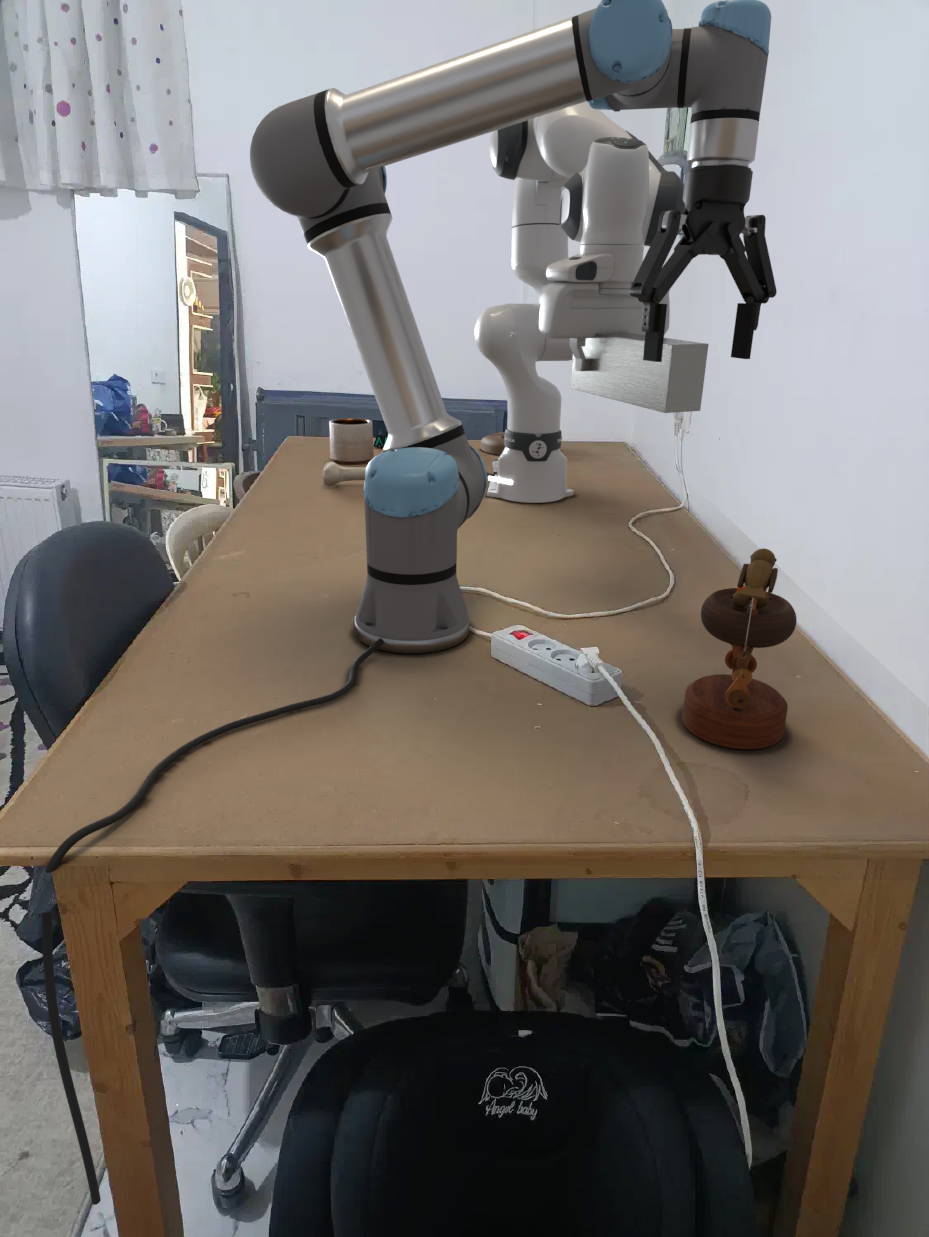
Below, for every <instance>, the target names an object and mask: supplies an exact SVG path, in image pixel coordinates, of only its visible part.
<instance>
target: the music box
mask: <svg viewBox="0 0 929 1237" xmlns="http://www.w3.org/2000/svg"><path fill="white" fill-rule="evenodd" d="M749 557H750V563H743V565H742V568H741V571H740V574H739V577H738V580H737V585H736V586H737V587H732V588H729V587H728V588H722V589H718V590H716V591H714V592H712V593H711V594H709V595H708V597H706V598H705V600H704V601H703V603H702V605H701V608H700V620H701V623H702V625H703V627H704V628H705V630H706V631H707V632H708V633H709V634H710V636H712V637H714V638H715V639H716V640H719V641H721V642H723V643H726V644H729V645H730V646H732V649H730V650H729V651H727V652H726V654H725V656H724V663H725V665H726V667H727V668H728V669H730V670H732V671H731V674H727V673H725V674H724V673H722V674H721V673H720V674H710V675H705V676H702V677H700V678H697V679H696V680H694V681H692V682H691V683H690V684H688V685H687V686H686V688H685V691H684V698H683V707H682V714H681V721H682V724H683V726H685V728H686V729H687V730H688V731H689V732H690V733H691V734H693V735H694V736H696V737H698V738H699V739H701V740H704V742H705V741H706V742H708V743H710V744H714V745H717V746H721V747H725V748H730V749H738V750H759V749H764V748H769V747H771V746H774V745H775V744H777V743H778V742H780V741H781V740H782V738H783V737H784V731H785V726H786V721H787V716H788V709H789V706H788V702H787V701H786V698H784V696H783V695H782V694H781V693H780V692H779V691H778V690H777V689H775V687H772V686H771V685H769V684H768V683H765V682H764V681H761V680H758V679H755V678H753V673H754V672H755V671H756V669H757V668H758V661H757V659H756V657H755V656H754V655H753V654H752V653H753V650H754V649H763V648H764V649H765V648H771V647H775V646H778V645H780V644H783V643H784V642H786V641H787V640H788V639H790V638H791V636H792V635H793V634H794V632H795V630H796V627H797V613H796V611H795V608H794V607H793V606H792V604H791V603H790V602H789V601H788V600H787V599H785V598H784V597H782V596H780V595H777V594H776V593H773V592H774V589H775V586H776V582H777V578H778V574H779V573H778V572H779V569H778V567H774V566H775V564H776V562H777V560H778V559H777V558H776V556H775V554H774V552H773V551H772V550H771V549H769V548H759V549H756V550H754V552H753V553H752V554H751V555H750V556H749Z"/></svg>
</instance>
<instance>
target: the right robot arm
mask: <svg viewBox="0 0 929 1237" xmlns="http://www.w3.org/2000/svg"><path fill="white" fill-rule="evenodd" d="M488 145H489V146H488V150H489V158H490V161H491V163H492V168H493V170H494V172H495V173H496V175H497V176H499V177H500V178H503V179H507V180H511V181H515V180H516V185H515V189H514V195H513V204H512V212H511V214H512V215H511V254H510V255H511V256H510V257H511V258H510V259H511V262H510V263H511V264H510V266H511V269H512V273H514V275H515V276H516V277H517V278H518V279H519V280H520V281H521V282H523V283H524V284H527V285H528V286H530V287H532V288H533V289H534V290H535V292H536V294H537V298H538V303H503V304H498V305H493V306H490V307H486V308H485V309H483V310H482V312H481V313H480V314H479V316H478V317H477V319H476V322H475V326H474V341H475V343H476V346H477V348H478V350H479V352H480V353H481V354H482V356H483V357H485V358H486V359H487V360H488V361H489V362H491V364H492V365H493V366H494V367H495V368H496V369H497V371H498V373H499V375H500V376H501V379H502V380H503V384H504V387H505V391H506V404H507V421H506V422H507V423H506V424H507V426H506V428H505V431H504V432H505V435H504V445H505V448H504V450H503V452H502V454H501V455H499V457H498V458H497V459H495V458H494V459H491V472H492V474H491V473H488V472H487V481H489V484H488V489H487V491H486V496H487V497H490V498H498V499H503V500H506V501H510V502H516V503H517V502H518V503H526V504H527V503H529V504H537V503H538V504H540V503H553V502H556V501H560V500H562V499H564V498H567V497H572V496H574V490H573V489H571V488H570V487H568V486H567V484H568V458H567V456H566V455H565V454H564V453H563V452H562V451H561V448H562V441H563V436H562V430H561V415H562V400H563V398H562V394H561V391H560V389H559V388H558V387H557V385H555V384H554V383H553V382H551V381H549V380H547V379H546V378H544V377H542V376H540V375H539V374H538V372H537V365H536V364H537V362H569V361H573V355H574V357H575V358H576V359H575V370H576V371H589V369H590V366H589V365H590V359H589V358H586V357H585V355H584V352H583V349H582V346H585V341H586V338H594V337H595V334H596V333H634V334H641V335H645V331H642V328H641V325H642V314H643V302H639V300H638V298H636V297H633V296H631V295H630V293H629V290H630V288H631V285H632V283H633V281H634V279H635V277H636V275H637V273H638V271H639V269H640V266H641V264H642V262H643V260H644V250H645V247H650V245H651V243H652V241H653V239H654V237H655V235H656V233H657V228H658V222H659V217H660V214H661V213H662V212H663V211H674V210H678V211H680V213H681V214H683V212H684V209H685V203H684V202H683V190H684V182H683V180H682V179H681V177H680V176H679V175H678V174H677V173H676V172H675V170H674V171H672V170H671V171H670V170H666V169H665V168H664V166H663V165H662V164H661V163H660V162H659V161H658V160H657V158H655V156H654V155H653V154H652V153H651V151H650V150H649V147H648V145H647V144H646V143H645V142H643V140H640V139H639V138H637V137H636V136H635V135H634V134H632V133H631V132H629V131H628V130H626V129H624V128H623V127H622V126H620V125H619V124H617V123H616V122H614V121H613V120H612V119H610V117H608V116H607V115H606V113H604V112H603V110H600V109H593V108H591V107H590V106H589V104H588V102H587V101H586V102H583V103H580V104H577V105H574V106H571V107H568V108H565V109H561V110H558V111H555V112H552V113H549V114H546V115H543V116H540V117H536V118H533V119H530V120H527V121H524V122H521V123H518V124H515V125H511V126H508V127H505V128H502V129H499V130H496V131H493V132H491V133H490V138H489V144H488ZM681 232H683V231H682V229H681V230H680V231H679V232H678V234H677V236H679V234H680V233H681ZM569 239H570V240H571V241H575V242H578V243H579V253H577V254H573V255H572V256H569ZM659 304H667V311H666V321H665V331H664V336H665V335H666V334H667V333H668V331H669V329H670V319H671V318H670V317H671V314H670V312H671V311H670V310H671V306H670V290H669V291H668V292H667V294H666V295H665V296H664V298H663V299H662V300H661V302H660V303H659Z"/></svg>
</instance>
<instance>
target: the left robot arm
mask: <svg viewBox="0 0 929 1237" xmlns="http://www.w3.org/2000/svg"><path fill="white" fill-rule="evenodd" d="M771 26H772V12H771V10H770V7H769V6H768V5H767V4H766V3H765V2H763V1H761V0H717V1H714V2H712V3H709V4H708V5H707V6H705V7H704V9H703V10H702V12H701V16H700V20H699V22H698V26H691V27H686V28H685V27H684V28H673V24H672V19H671V18H670V17H669V13H668V10H667V8H666V6H665V3H664V2H663V1H662V0H601V1H600V3H599V4H598V5H597V6H596V8H593V9H590V10H587V11H584V12H582V13H579V14H577V15H574V16H571V17H568V18H565V19H562V20H560V21H556V22H554V23H551V24H548V25H545V26H542V27H539V28H537V29H533V30H530V31H527V32H525V33H522V34H519V35H516V36H513V37H510V38H507V39H505V40H501V41H498V42H495V43H492V44H490V45H487V46H484V47H482V48H479V49H475V50H473V51H470V52H467V53H464V54H461V55H458V56H454V57H452V58H449V59H446V60H444V61H440V62H437V63H434V64H431V65H429V66H426V67H423V68H420V69H417V70H414V71H412V72H408V73H405V74H402V75H399V76H397V77H395V78H391V79H388V80H386V81H383V82H379V83H376V84H375V85H371V86H368V87H365V88H362V89H359V90H357V91H353V92H351V93H348V94H345V93H344V92H342V91H340V90H339V89H337V88H335V87H331V88H328V89H324V90H322V91H319V92H317V93H314V94H310V95H308V96H305V97H301V98H299V99H296V100H293V101H290V102H286V103H284V104H282V105H279V106H277V107H275V108H274V109H272V110H271V111H269V112H268V113H267V114H266V115H265V116H264V117H263V118H262V119H261V120H260V122H259V124H258V125H257V127H256V128H255V131H254V133H253V135H252V138H251V143H250V147H249V164H250V170H251V174H252V177H253V179H254V182H255V184H256V186H257V188H258V190H259V191H260V193H261V194H262V196H263V197H264V198H265V199H266V200H267V201H268V202H269V203H270V205H272V206H273V207H274V208H276V209H277V210H278V211H281V212H282V213H284V214H287V215H289V216H293V217H296V218H297V221H298V224H299V226H300V229H301V232H302V234H303V238H304V240H305V242H306V245H307V248H308V250H310V251H312V252H314V253H316V254H318V255H320V256H321V257H322V258H323V259H324V260H325V263H326V266H327V269H328V271H329V274H330V277H331V279H332V282H333V286H334V288H335V291H336V293H337V297H338V299H339V301H340V305H341V307H342V310H343V313H344V315H345V318H346V321H347V323H348V326H349V329H350V331H351V335H352V337H353V339H354V343H355V346H356V348H357V351H358V354H359V356H360V359H361V362H362V364H363V367H364V370H365V372H366V376H367V378H368V381H369V384H370V387H371V389H372V392H373V395H374V398H375V401H376V403H377V407H378V408H379V411H380V414H381V417H382V419H383V422H384V426H385V428H386V432H387V431H388V438H387V441H386V443H385V445H384V447H382V453H379V454H377V455H376V456H374V457H373V459H372V460H370V461H368V463H367V465H366V467H365V468H366V471H365V480H364V482H363V489H362V493H363V497H364V520H365V550H366V579H365V584H364V586H363V589H362V592H361V596H360V600H359V602H358V606H357V609H356V612H355V615H354V633H355V636H356V638H357V639H358V640H359V641H360V642H362V643H363V644H365V645H367V646H368V648H367V649H366V650H365V651H363V652H362V653H361V654H360V655H359V656H357V658H356V659H355V660H354V661H353V662H352V664H351V666H350V669H349V673H348V680H347V682H346V683H345V685H343V686H342V687H341V688H339V689H338V690H336V691H333V692H331V693H329V694H326V695H322V696H319V697H315V698H312V699H307V700H303V701H298V702H294V703H291V704H288V705H284V706H280V707H277V708H275V709H271V710H267V711H264V712H261V713H256V714H254V715H250V716H246V717H243V718H241V719H240V718H239V719H237V720H234V721H231V722H229V723H226V724H224V725H221V726H218V727H217V728H213V729H212V730H210V731H208V732H206V733H203V734H201V735H199V736H197V737H196V738H194V739H191V740H190V741H188V742H186V743H185V744H183V745H181V746H180V747H178V748H177V749H176V750H174V751H173V752H171V753H170V754H168V755H167V756H165V758H164V759H162V760H161V761H160V762H159V763H158V764H156V765H155V767H153V768H152V770H151V771H150V772H149V774H148V775H147V776H146V778H145V779H144V781H143V783H142V784H141V785H140V787H139V789H138V790H137V791H136V793H135V794H134V795H133V797H131V799H129V801H128V802H127V803H126V804H125V805H124V806H122V807H121V808H120V809H119V810H116V811H115V812H113V813H112V814H110V815H108V816H105V817H103V818H100V819H99V820H96V821H94V822H92V823H89V824H87V825H85V826H84V827H82V828H80V829H78V830H76V831H75V832H73V833H72V834H71V835H69V836H68V837H67V838H66V839H65V840H64V841H63V842H62V843H61V844H60V845H59V846H58V848H57V849H56V850H55V852H53V855H52V856H51V857H50V860H49V861H48V863H47V865H46V867H45V870H44V872H45V873H46V874H50V873H52V872H55V871H56V870H57V869H58V867H59V865H60V863H61V862H62V861H63V859H64V857H65V856H66V855H67V853H68V852H69V851H70V850H71V849H72V847H74V846H75V845H76V844H77V843H78V842H79V841H81V840H83V839H84V838H85V837H87V836H89V835H91V834H94V833H95V832H97V831H100V830H102V829H104V828H107V827H109V826H111V825H113V824H115V823H116V822H119V821H120V820H122V819H123V818H125V817H127V815H129V814H130V813H132V811H133V810H135V809H136V808H137V807H138V805H139V804H141V802H142V801H143V800H144V798H145V797H146V795H147V794H148V792H149V791H150V789H151V787H152V786H153V784H154V782H155V781H156V780H157V778H158V777H159V776H160V775H161V774H162V772H163V771H164V770H166V769H167V768H168V767H169V766H170V765H172V763H174V762H175V761H176V760H177V759H179V758H181V757H182V756H183V755H184V754H187V753H188V752H190V751H191V750H193V749H194V748H197V746H199V745H202V744H203V743H205V742H207V741H209V740H212V739H213V738H216V737H218V736H220V735H222V734H223V735H224V734H225V733H227V732H230V731H232V730H236V729H238V728H241V727H245V726H247V725H251V724H255V723H258V722H260V721H264V720H268V719H271V718H272V719H273V718H274V717H278V716H281V715H284V714H288V713H290V712H294V711H298V710H302V709H307V708H311V707H315V706H319V705H322V704H326V703H329V702H331V701H334V700H336V699H338V698H340V697H342V696H344V695H345V694H347V693H348V692H349V691H351V690H352V688H353V687H354V686H355V685H354V684H355V682H356V676H357V670H358V669H359V667H360V666H361V664H362V663H363V662H364V661H365V660H366V659H368V658H369V657H370V656H371V655H372V654H373V653H375V651H376V650H380V651H384V652H390V653H396V654H397V653H398V654H425V653H433V652H439V651H443V650H446V649H449V648H452V647H455V646H457V645H458V644H460V643H462V642H463V641H464V640H466V639H467V637H468V636H469V634H470V615H469V612H468V608H467V606H466V601H465V599H464V596H463V593H462V589H461V586H460V583H459V581H458V577H457V561H458V560H457V559H458V558H457V557H458V556H457V554H458V530H459V529H460V528H461V526H463V524H465V522H467V520H468V519H470V518H471V517H473V515H474V514H475V513H476V512H477V510H478V509H479V508H480V506H481V504H482V502H483V500H484V497H485V495H486V492H487V486H488V475H487V473H488V471H487V467H486V465H485V462H484V460H483V457H482V456H481V454H480V453H479V452H478V451H477V449H475V448H474V447H473V446H472V445H471V444H470V443H469V440H468V438H467V435H466V432H465V428H464V426H463V422H462V420H459V419H457V418H455V417H453V416H452V415H450V414H449V413H448V412H447V410H446V407H445V403H444V401H443V398H442V395H441V391H440V390H439V389H440V388H439V386H438V383H437V380H436V377H435V374H434V372H433V368H432V365H431V362H430V360H429V357H428V354H427V351H426V348H425V345H424V342H423V340H422V336H421V334H420V331H419V328H418V324H417V321H416V318H415V315H414V313H413V310H412V307H411V303H410V302H409V301H410V300H409V298H408V295H407V292H406V289H405V287H404V283H403V280H402V278H401V275H400V272H399V269H398V266H397V262H396V260H395V257H394V254H393V251H392V249H391V246H390V243H389V239H388V237H387V234H388V231H389V229H390V226H391V224H392V221H393V215H392V212H391V209H390V205H389V203H388V201H387V197H386V192H387V186H388V185H387V184H388V176H387V169H386V166H389V165H392V164H396V163H399V162H403V161H405V160H408V159H411V158H414V157H417V156H421V155H423V154H426V153H430V152H434V151H436V150H439V149H442V148H446V147H449V146H451V145H455V144H458V143H461V142H465V141H468V140H471V139H474V138H477V137H479V136H483V135H486V134H489V133H490V134H491V133H492V132H493V131H496V130H499V129H502V128H505V127H508V126H511V125H515V124H518V123H521V122H524V121H527V120H530V119H533V118H536V117H540V116H543V115H546V114H549V113H552V112H555V111H558V110H561V109H565V108H568V107H571V106H574V105H577V104H580V103H583V102H586V101H587V102H588V104H589V106H590V107H591V108H593V109H600V110H601V111H603V110H604V111H606V110H607V111H613V112H614V113H618V112H621V111H626V110H627V111H628V110H650V109H651V110H653V109H655V110H656V109H674V108H675V109H685V108H691V116H690V124H689V133H688V134H689V135H688V144H687V152H686V153H687V155H686V162H687V163H688V165H691V167H690V168H688V169H686V171H685V172H684V179H683V180H684V182H683V183H684V190H683V202H684V203H685V209H684V212H683V214H681V213H680V211H678V210H674V211H663V212H662V213H661V214H660V217H659V222H658V228H657V233H656V235H655V237H654V239H653V241H652V243H651V245H650V246H648V249H647V252H646V253H645V256H644V257H643V262H642V264H641V266H640V269H639V271H638V273H637V275H636V277H635V279H634V281H633V283H632V285H631V288H630V290H629V293H630V295H631V296H633V297H636V298H638V300H639V302H643V314H642V325H641V328H642V331H645V343H644V354H643V360H647V361H653V362H661V361H662V351H663V341H664V338H665V335H664V331H665V321H666V311H667V304H659V303H660V302H661V300H662V299H663V298H664V296H665V295H666V294H667V292H668V291H669V292H670V291H671V288H672V287H673V285H674V284H675V283H676V282H677V281H678V279H679V278H680V276H681V275H682V274H683V273H684V271H685V270H686V269H687V267H688V266H689V264H690V263H691V262H692V260H694V258H696V257H698V256H701V255H707V256H719V257H720V258H721V259H722V260H723V261H724V263H725V264H726V267H727V269H728V271H729V273H730V275H731V277H732V279H733V281H734V283H735V286H736V287H737V289H738V291H739V293H740V295H741V297H742V299H743V301H744V302H738V303H737V304H736V314H735V320H734V329H733V337H732V345H731V352H730V358H734V359H742V360H750V359H751V354H752V348H753V339H754V332H755V331H757V329H758V327H759V320H760V313H761V307H762V304H767V303H768V302H769V300H770V299H771V298H775V297H776V295H777V285H776V281H775V277H774V272H773V267H772V262H771V258H770V253H769V248H768V243H767V240H766V223H767V222H766V221H767V218H766V216H765V215H764V214H752V215H746V216H745V207H746V205H747V204H748V202H749V201H750V198H751V191H752V190H751V189H752V182H753V181H752V180H753V174H754V172H753V170H752V168H751V167H749V165H751V164H752V163H753V162H754V161H755V160H756V151H757V145H758V135H759V134H758V133H759V126H760V119H761V118H760V117H761V109H762V104H763V103H762V102H763V97H764V96H763V95H764V89H765V82H766V73H767V68H768V62H769V53H770V50H769V49H770V39H771V38H770V37H771V28H772V27H771ZM681 229H682V231H681V232H682V234H683V236H682V237H681V238H680V239H679V241H678V242H677V244H676V245H675V246H674V247H673V245H674V244H675V242H676V239H677V237H678V235H679V234H678V232H679V231H680V230H681ZM677 234H678V235H677ZM741 234H742V237H743V240H742V238H741V236H740V235H741ZM672 248H673V252H672V253H671V250H672ZM670 253H671V255H670V256H669V254H670ZM668 256H669V258H668ZM667 258H668V259H667ZM40 915H41V942H42V945H41V946H42V947H41V948H42V966H43V979H44V980H43V981H44V990H45V998H46V1006H47V1014H48V1021H49V1025H50V1026H49V1027H50V1031H51V1037H52V1041H53V1047H54V1052H55V1057H56V1061H57V1065H58V1069H59V1073H60V1077H61V1081H62V1085H63V1089H64V1093H65V1096H66V1100H67V1104H68V1107H69V1108H68V1109H69V1111H70V1115H71V1119H72V1123H73V1126H74V1130H75V1134H76V1137H77V1142H78V1146H79V1150H80V1154H81V1158H82V1162H83V1166H84V1170H85V1176H86V1179H87V1184H88V1189H89V1194H90V1198H91V1199H90V1200H91V1203H92V1205H94V1206H95V1205H98V1204H100V1203H101V1200H102V1199H101V1194H100V1188H99V1183H98V1178H97V1173H96V1168H95V1164H94V1159H93V1155H92V1151H91V1147H90V1143H89V1139H88V1135H87V1131H86V1127H85V1124H84V1119H83V1115H82V1112H81V1107H80V1104H79V1100H78V1096H77V1092H76V1088H75V1084H74V1081H73V1080H74V1079H73V1076H72V1072H71V1068H70V1064H69V1059H68V1055H67V1050H66V1046H65V1041H64V1036H63V1031H62V1026H61V1018H60V1013H59V1012H60V1011H59V1006H58V998H57V990H56V981H55V968H54V965H55V964H54V953H53V952H54V950H53V949H54V948H53V914H52V911H51V912H41V913H40Z"/></svg>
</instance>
